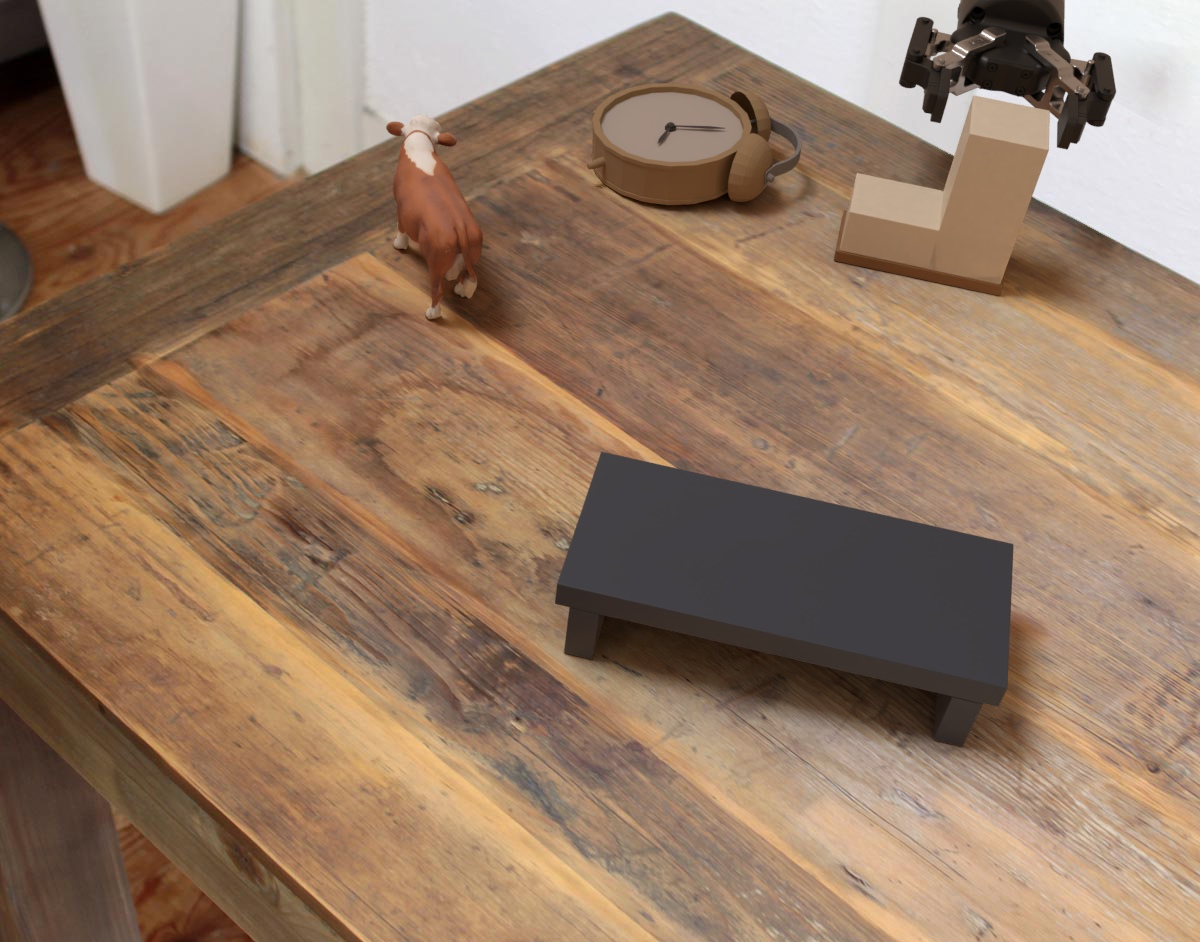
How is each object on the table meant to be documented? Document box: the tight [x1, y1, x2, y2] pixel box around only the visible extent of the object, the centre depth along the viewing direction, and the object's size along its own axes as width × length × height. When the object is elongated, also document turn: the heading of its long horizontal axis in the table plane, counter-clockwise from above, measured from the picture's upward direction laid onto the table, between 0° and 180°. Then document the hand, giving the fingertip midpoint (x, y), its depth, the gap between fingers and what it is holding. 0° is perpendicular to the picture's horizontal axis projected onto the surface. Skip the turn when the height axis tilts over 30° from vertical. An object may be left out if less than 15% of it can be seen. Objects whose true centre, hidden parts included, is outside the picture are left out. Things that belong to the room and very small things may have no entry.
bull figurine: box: [385, 114, 484, 320], centre depth 93 cm, size 4×14×8 cm, turn 16°
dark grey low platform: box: [554, 451, 1014, 748], centre depth 76 cm, size 22×10×5 cm, turn 77°
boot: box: [833, 94, 1051, 297], centre depth 98 cm, size 11×5×11 cm, turn 77°
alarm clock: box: [586, 82, 803, 206], centre depth 106 cm, size 11×5×15 cm
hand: (1003, 123), depth 98 cm, fingers open, 8 cm apart
